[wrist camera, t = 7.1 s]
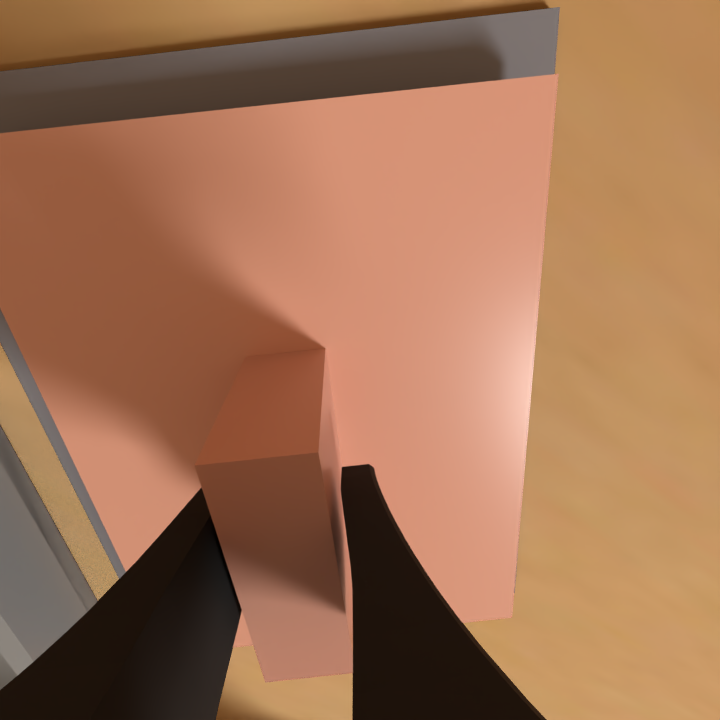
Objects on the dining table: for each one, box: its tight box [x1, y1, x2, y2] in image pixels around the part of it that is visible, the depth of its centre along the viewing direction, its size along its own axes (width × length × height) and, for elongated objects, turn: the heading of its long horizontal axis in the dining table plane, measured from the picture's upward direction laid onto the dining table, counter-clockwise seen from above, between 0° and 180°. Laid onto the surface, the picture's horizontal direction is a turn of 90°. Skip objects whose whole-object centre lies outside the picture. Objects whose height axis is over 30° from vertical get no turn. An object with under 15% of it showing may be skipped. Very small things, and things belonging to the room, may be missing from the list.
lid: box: [0, 74, 558, 682], centre depth 11 cm, size 17×13×6 cm
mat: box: [0, 7, 560, 593], centre depth 13 cm, size 19×15×1 cm
